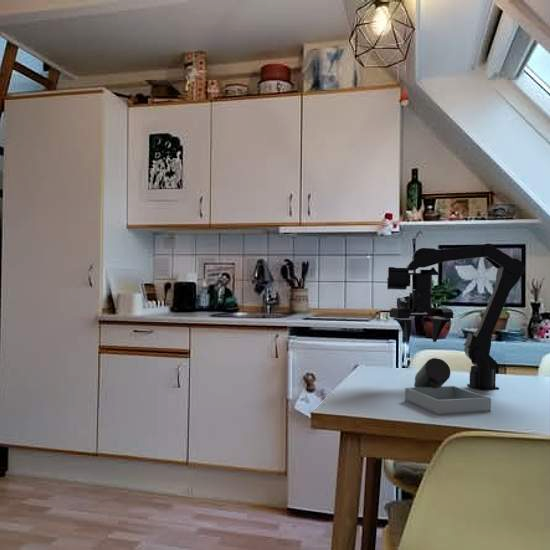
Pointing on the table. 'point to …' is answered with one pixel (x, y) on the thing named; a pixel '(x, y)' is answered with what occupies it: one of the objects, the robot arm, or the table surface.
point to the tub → (447, 400)
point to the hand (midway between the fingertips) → (421, 342)
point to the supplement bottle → (432, 374)
